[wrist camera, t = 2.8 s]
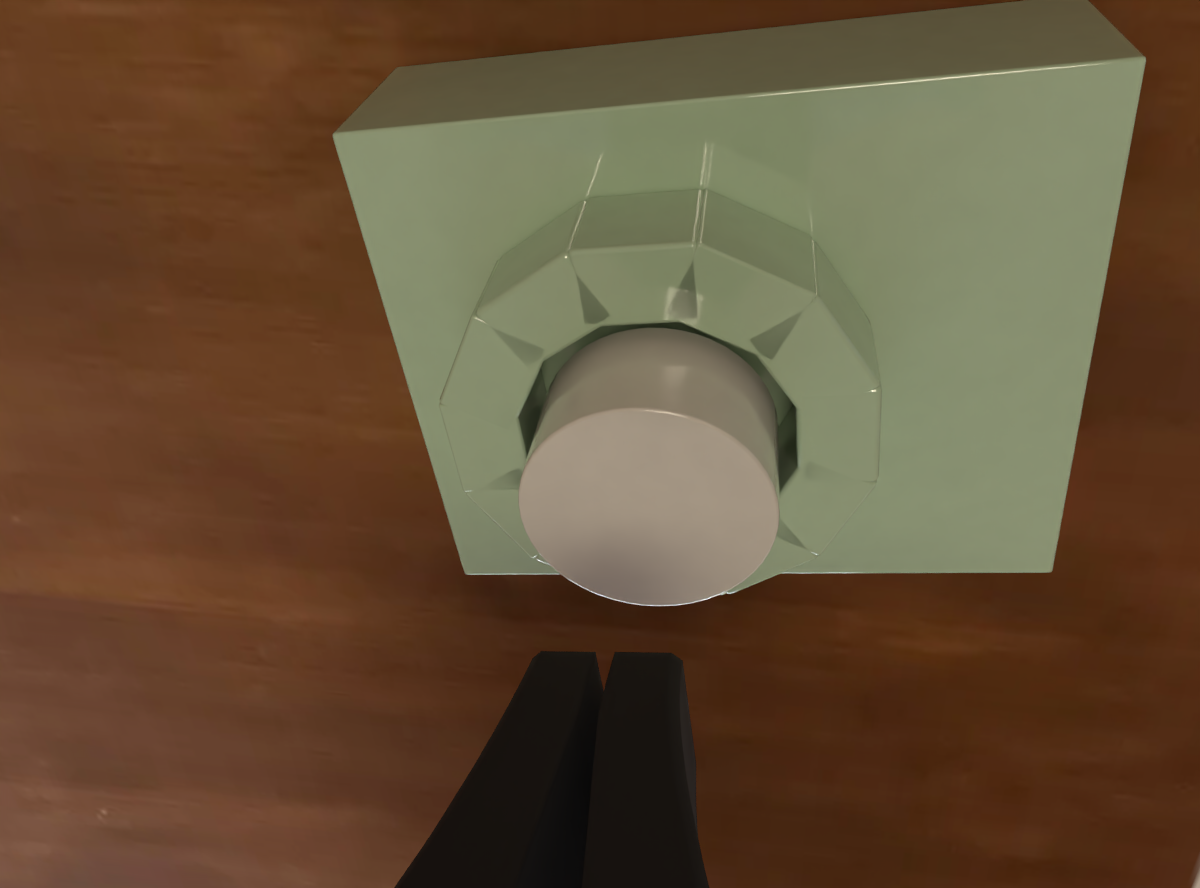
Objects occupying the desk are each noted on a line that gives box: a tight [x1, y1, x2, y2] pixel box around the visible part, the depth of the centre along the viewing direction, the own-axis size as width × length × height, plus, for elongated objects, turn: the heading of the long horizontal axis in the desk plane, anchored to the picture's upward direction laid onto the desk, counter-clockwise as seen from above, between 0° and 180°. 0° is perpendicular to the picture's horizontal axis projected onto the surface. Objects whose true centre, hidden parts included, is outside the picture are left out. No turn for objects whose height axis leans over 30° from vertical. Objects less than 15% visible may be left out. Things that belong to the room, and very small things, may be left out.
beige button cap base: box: [333, 0, 1146, 595], centre depth 17 cm, size 11×9×5 cm
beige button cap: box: [518, 328, 780, 606], centre depth 14 cm, size 4×4×2 cm
